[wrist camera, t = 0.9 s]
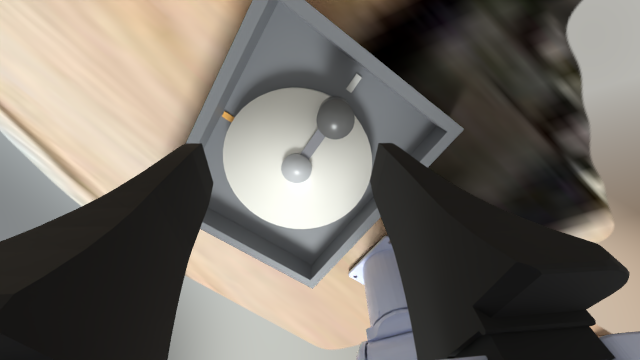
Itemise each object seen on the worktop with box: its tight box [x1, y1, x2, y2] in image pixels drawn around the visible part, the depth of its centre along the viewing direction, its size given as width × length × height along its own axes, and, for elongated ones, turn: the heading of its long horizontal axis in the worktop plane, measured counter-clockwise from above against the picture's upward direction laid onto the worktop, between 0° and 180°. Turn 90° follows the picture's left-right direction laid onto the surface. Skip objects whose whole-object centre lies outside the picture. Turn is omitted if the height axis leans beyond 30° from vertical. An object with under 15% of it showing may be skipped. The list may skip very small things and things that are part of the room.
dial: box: [223, 87, 372, 229], centre depth 24 cm, size 16×15×5 cm
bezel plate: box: [186, 0, 464, 289], centre depth 26 cm, size 20×24×4 cm
